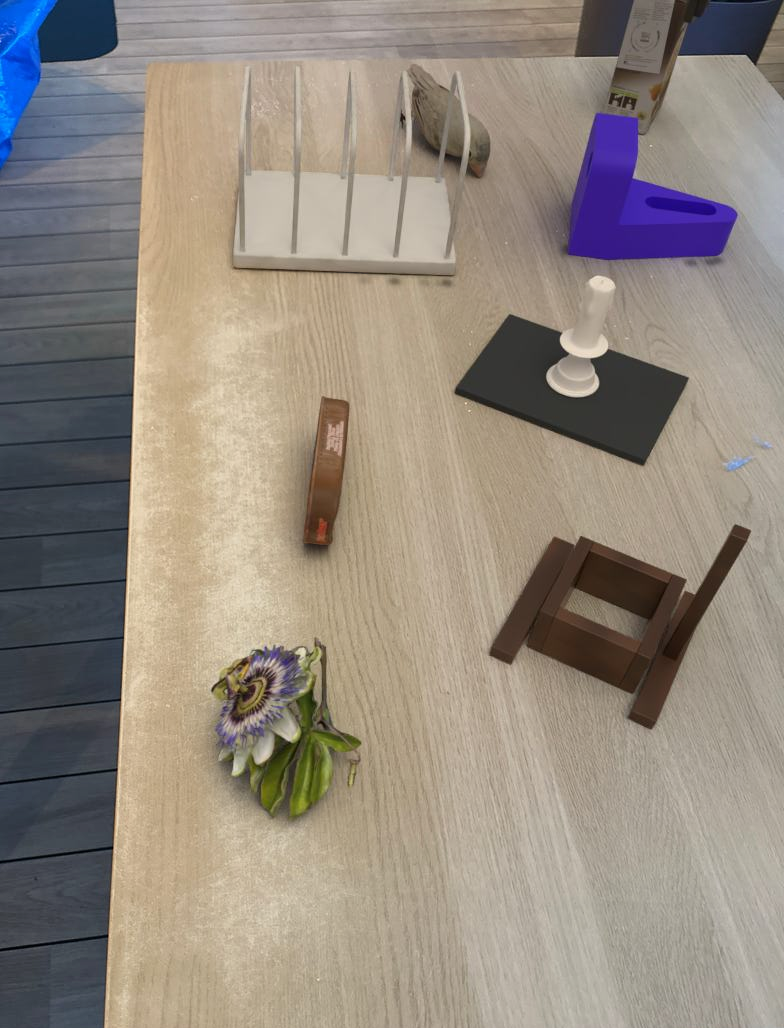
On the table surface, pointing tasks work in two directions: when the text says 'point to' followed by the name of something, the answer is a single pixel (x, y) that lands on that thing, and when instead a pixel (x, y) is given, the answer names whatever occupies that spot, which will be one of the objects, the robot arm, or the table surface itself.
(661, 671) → the brown wooden stand
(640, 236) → the bracket
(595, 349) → the candle
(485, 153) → the decorative bird
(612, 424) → the mat
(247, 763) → the passion flower
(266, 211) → the file sorter
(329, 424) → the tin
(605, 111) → the coffee box
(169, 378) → the table surface
